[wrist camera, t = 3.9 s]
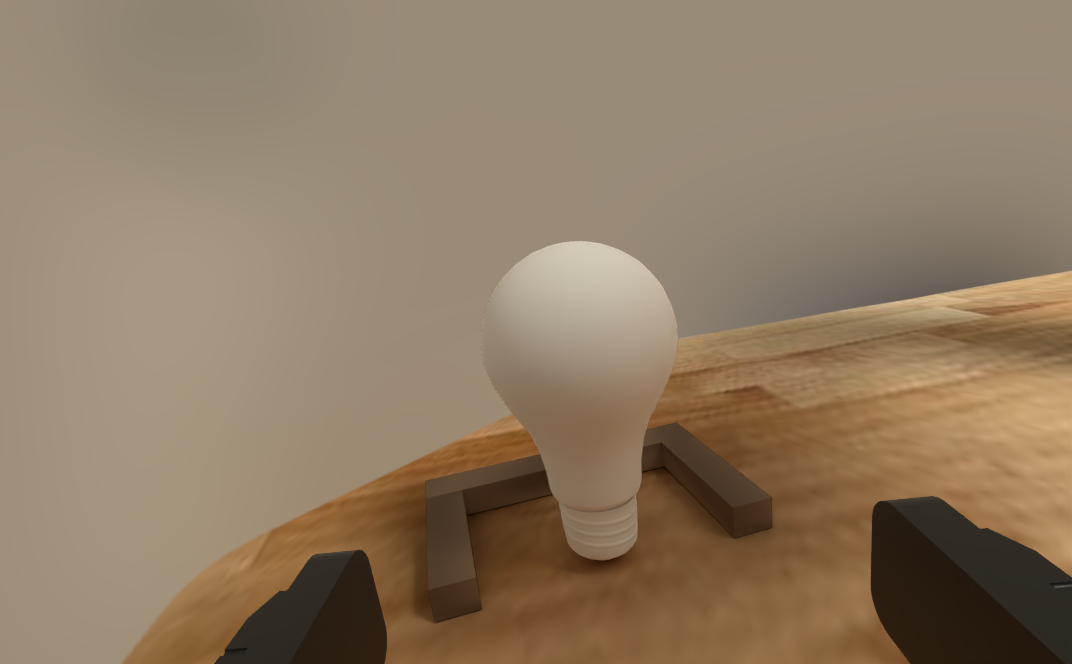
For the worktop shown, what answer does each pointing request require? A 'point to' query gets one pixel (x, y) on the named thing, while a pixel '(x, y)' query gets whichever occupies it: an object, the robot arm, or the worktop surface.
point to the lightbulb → (583, 378)
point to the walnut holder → (527, 479)
